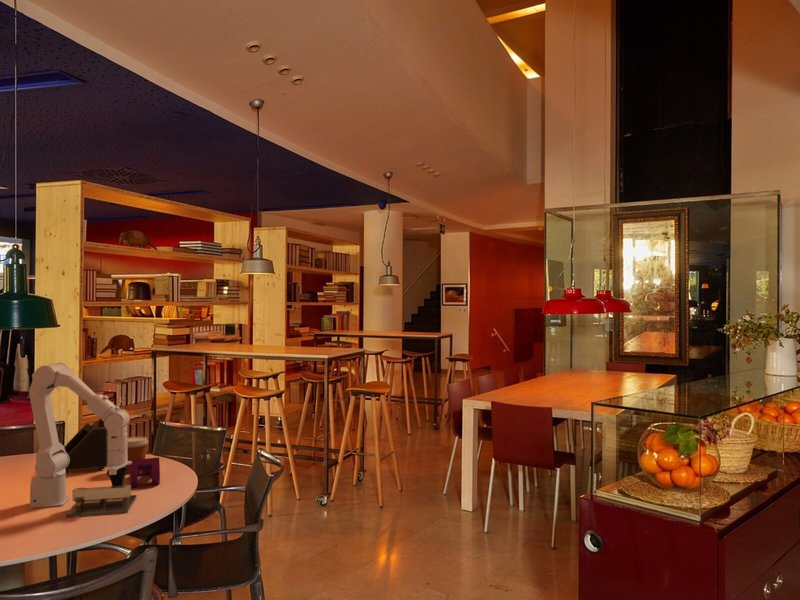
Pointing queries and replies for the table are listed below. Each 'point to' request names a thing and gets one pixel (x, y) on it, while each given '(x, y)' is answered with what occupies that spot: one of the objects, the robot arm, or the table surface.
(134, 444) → the disposable coffee cup
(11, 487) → the table surface
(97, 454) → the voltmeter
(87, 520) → the table surface
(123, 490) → the beige rectangular bar
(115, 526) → the table surface
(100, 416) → the robot arm
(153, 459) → the mounting bracket
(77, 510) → the tray
